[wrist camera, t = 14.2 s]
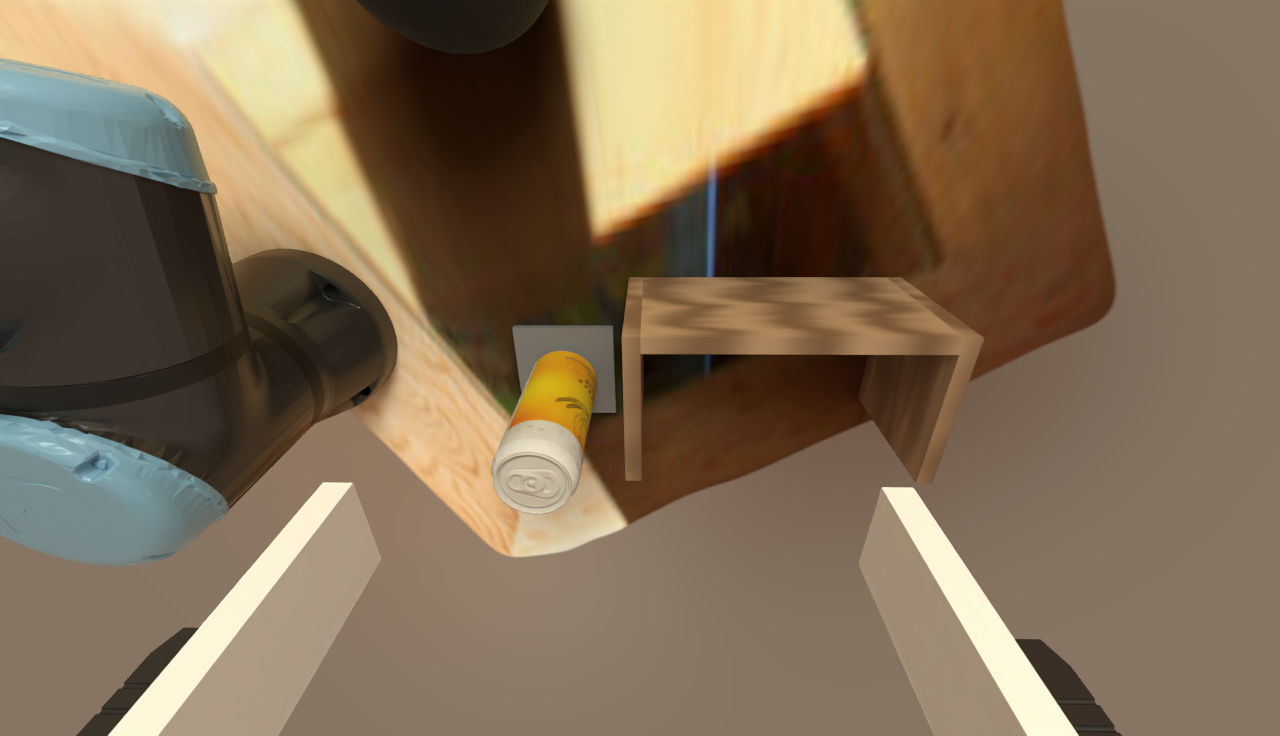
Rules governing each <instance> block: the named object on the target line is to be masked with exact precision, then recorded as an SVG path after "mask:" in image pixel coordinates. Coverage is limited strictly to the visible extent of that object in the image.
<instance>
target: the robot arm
mask: <svg viewBox="0 0 1280 736" xmlns="http://www.w3.org/2000/svg"><path fill="white" fill-rule="evenodd" d="M215 194H217V188H216V186H215V184H214V183H212V182H211V181H210V179H209V176H208V173H207V170H206V168H205V165H204V162H203V159H202V155H201V152H200V149H199V146H198V143H197V139H196V136H195V133H194V130H193V128H192V126H191V124H190V122H189V121H188V119H187V118H186V116H185V115H184V114H183V113H182V112H181V111H180V110H179V109H178V108H177V107H176V106H175V105H174V104H172V103H171V102H170V101H168V100H167V99H165V98H164V97H162V96H160V95H158V94H156V93H153V92H151V91H149V90H146V89H143V88H140V87H136V86H132V85H128V84H124V83H120V82H116V81H112V80H107V79H103V78H98V77H94V76H89V75H84V74H80V73H75V72H70V71H65V70H60V69H55V68H51V67H46V66H41V65H35V64H30V63H25V62H20V61H15V60H10V59H5V58H0V536H2V537H4V538H7V539H9V540H11V541H14V542H16V543H19V544H22V545H23V546H26V547H28V548H31V549H34V550H36V551H39V552H42V553H46V554H49V555H52V556H56V557H60V558H64V559H68V560H72V561H76V562H82V563H88V564H94V565H104V566H135V565H142V564H148V563H152V562H156V561H159V560H161V559H165V558H167V557H169V556H171V555H173V554H174V553H176V552H178V551H180V550H181V549H183V548H184V547H185V546H187V545H188V544H189V543H190V542H191V541H192V540H194V539H195V538H196V537H197V536H198V535H199V534H200V533H201V532H203V531H204V530H205V529H206V528H207V527H208V526H210V525H211V524H212V523H215V522H216V521H218V520H220V519H222V518H223V517H224V516H225V515H226V514H227V513H228V511H229V509H230V508H231V507H232V506H233V505H234V504H235V503H236V502H237V501H238V500H239V499H240V498H241V497H242V496H243V495H244V494H245V493H246V492H247V491H248V490H249V489H250V488H251V487H252V486H253V485H254V484H255V483H256V482H257V481H258V480H259V479H260V478H261V477H262V476H263V475H264V474H265V473H266V472H267V471H268V470H269V469H270V468H271V467H272V466H273V465H274V464H275V463H276V462H277V461H278V460H279V459H280V458H281V457H282V456H283V455H284V454H285V453H286V452H287V451H288V450H289V449H290V448H291V447H292V446H293V445H294V444H295V443H296V441H297V440H299V438H301V436H302V435H303V434H304V433H305V432H306V431H307V430H308V429H309V428H310V427H311V426H313V425H314V424H315V423H317V422H320V421H322V420H325V419H327V418H329V417H332V416H334V415H337V414H339V413H341V412H344V411H346V410H349V409H351V408H353V407H356V406H358V405H359V404H361V403H363V402H364V401H366V400H367V399H369V398H370V397H371V396H372V395H373V394H374V393H375V392H376V391H377V390H378V389H379V388H380V387H381V386H382V385H383V384H384V382H385V381H386V380H387V379H388V377H389V376H390V374H391V372H392V370H393V368H394V364H395V360H396V354H397V344H396V336H395V332H394V329H393V325H392V323H391V320H390V318H389V316H388V314H387V312H386V310H385V308H384V307H383V305H382V304H381V302H380V301H379V299H378V298H377V297H376V296H375V294H374V293H373V292H372V291H371V290H370V289H369V288H368V287H367V286H366V285H365V284H364V283H363V282H362V281H361V280H360V279H359V278H358V277H356V276H355V275H354V274H352V273H351V272H350V271H348V270H347V269H345V268H344V267H342V266H340V265H339V264H337V263H335V262H333V261H331V260H329V259H326V258H324V257H322V256H319V255H316V254H313V253H309V252H305V251H300V250H293V249H274V250H268V251H264V252H260V253H257V254H255V255H252V256H250V257H247V258H245V259H243V260H240V261H238V262H236V263H234V264H231V260H230V255H229V251H228V247H227V243H226V239H225V235H224V231H223V227H222V223H221V219H220V215H219V210H218V206H217V202H216V198H215ZM380 560H381V556H380V554H379V551H378V548H377V546H376V543H375V540H374V538H373V535H372V533H371V530H370V527H369V524H368V522H367V519H366V516H365V513H364V511H363V508H362V505H361V503H360V500H359V498H358V494H357V492H356V489H355V487H354V484H353V483H335V482H333V483H332V482H329V483H328V482H323V483H322V484H321V485H320V487H319V488H318V489H317V490H316V491H315V493H314V494H313V495H312V496H311V497H310V498H309V500H308V501H307V502H306V503H305V504H304V505H303V507H302V508H301V509H300V510H299V511H298V512H297V514H296V515H295V516H294V517H293V518H292V520H291V521H290V522H289V523H288V524H287V525H286V527H285V528H284V529H283V530H282V531H281V533H280V534H279V535H278V536H277V537H276V538H275V540H274V541H273V542H272V543H271V544H270V546H269V547H268V548H267V549H266V550H265V551H264V552H263V554H262V555H261V556H260V557H259V559H258V560H257V561H256V562H255V563H254V564H253V565H252V567H251V568H250V569H249V570H248V571H247V572H246V574H245V575H244V576H243V577H242V578H241V580H240V581H239V582H238V583H237V584H236V586H235V587H234V588H233V589H232V590H231V591H230V592H229V594H228V595H227V596H226V597H225V599H224V600H223V601H222V602H221V603H220V604H219V606H218V607H217V608H216V609H215V610H214V611H213V613H212V614H211V615H210V616H209V617H208V618H207V620H206V621H205V622H204V623H203V624H202V625H201V627H200V628H183V629H181V630H180V631H179V632H178V633H176V634H175V635H174V636H172V637H171V638H170V639H169V640H167V641H166V642H164V643H163V644H162V645H161V646H159V647H158V648H157V649H155V650H154V651H153V652H151V653H150V654H149V656H148V657H147V658H146V659H145V660H144V661H143V662H142V663H141V664H140V666H139V667H138V668H137V669H136V670H135V671H134V672H133V673H132V675H131V676H130V677H129V678H128V679H127V680H126V681H125V682H124V687H123V688H122V689H118V690H117V691H116V692H115V694H114V695H113V696H112V697H111V698H110V699H109V700H108V701H107V703H106V704H105V705H104V706H103V707H102V711H101V712H100V713H99V714H96V715H95V716H94V717H93V718H92V719H91V720H90V721H89V722H88V723H87V725H86V726H85V727H84V728H83V729H82V730H81V731H80V732H79V733H78V735H77V736H278V735H279V733H280V732H281V730H282V728H283V726H284V725H285V723H286V721H287V720H288V718H289V716H290V714H291V713H292V711H293V709H294V708H295V706H296V704H297V702H298V701H299V699H300V697H301V696H302V694H303V692H304V690H305V689H306V687H307V685H308V684H309V682H310V680H311V678H312V677H313V675H314V673H315V672H316V670H317V668H318V666H319V665H320V663H321V661H322V660H323V657H324V656H325V654H326V653H327V651H328V649H329V647H330V646H331V644H332V642H333V641H334V639H335V637H336V636H337V634H338V632H339V630H340V628H341V627H342V625H343V624H344V622H345V620H346V619H347V617H348V615H349V613H350V612H351V610H352V608H353V607H354V604H355V603H356V601H357V600H358V598H359V596H360V595H361V593H362V591H363V589H364V588H365V586H366V584H367V583H368V581H369V579H370V577H371V576H372V574H373V572H374V571H375V569H376V567H377V565H378V564H379V562H380ZM859 566H860V569H861V571H862V573H863V576H864V578H865V580H866V582H867V585H868V587H869V589H870V591H871V594H872V596H873V598H874V601H875V603H876V605H877V607H878V610H879V612H880V614H881V616H882V619H883V621H884V623H885V625H886V628H887V630H888V632H889V635H890V637H891V639H892V641H893V644H894V646H895V648H896V650H897V653H898V655H899V657H900V659H901V662H902V664H903V666H904V668H905V671H906V673H907V675H908V678H909V680H910V682H911V684H912V687H913V689H914V691H915V693H916V695H917V698H918V700H919V702H920V705H921V707H922V709H923V712H924V714H925V716H926V718H927V721H928V723H929V725H930V727H931V730H932V732H933V734H934V736H1122V735H1121V734H1120V733H1117V732H1116V731H1115V729H1114V724H1113V723H1112V722H1111V720H1110V719H1109V718H1108V717H1107V715H1106V714H1105V712H1104V711H1103V710H1102V708H1101V707H1100V706H1099V705H1096V703H1095V701H1094V700H1095V699H1094V697H1093V696H1092V695H1091V693H1090V692H1089V690H1088V689H1087V688H1086V686H1085V685H1084V684H1083V683H1082V681H1081V679H1080V678H1079V677H1078V675H1077V674H1076V673H1075V672H1074V670H1073V669H1072V668H1071V666H1070V665H1068V664H1067V663H1066V662H1065V661H1064V660H1063V659H1062V658H1060V656H1058V655H1057V654H1056V653H1055V652H1054V651H1053V650H1052V649H1050V648H1049V647H1048V646H1047V645H1046V644H1045V643H1044V642H1043V641H1041V640H1037V639H1036V640H1035V639H1014V638H1013V637H1012V635H1011V634H1010V632H1009V631H1008V629H1007V628H1006V626H1005V625H1004V623H1003V622H1002V620H1001V619H1000V617H999V616H998V614H997V613H996V611H995V610H994V608H993V607H992V605H991V604H990V602H989V601H988V599H987V598H986V596H985V595H984V593H983V592H982V590H981V589H980V587H979V586H978V584H977V583H976V581H975V580H974V578H973V577H972V575H971V574H970V572H969V571H968V569H967V568H966V566H965V565H964V563H963V562H962V560H961V559H960V557H959V556H958V554H957V553H956V552H955V550H954V548H953V547H952V545H951V544H950V542H949V541H948V539H947V538H946V536H945V535H944V533H943V532H942V530H941V529H940V527H939V526H938V524H937V523H936V521H935V520H934V518H933V517H932V515H931V514H930V512H929V511H928V509H927V508H926V506H925V505H924V503H923V502H922V500H921V499H920V497H919V496H918V494H917V493H916V491H915V490H914V488H892V487H891V488H890V487H887V488H886V487H882V488H881V492H880V495H879V498H878V502H877V505H876V508H875V511H874V515H873V518H872V522H871V525H870V528H869V532H868V535H867V539H866V542H865V545H864V548H863V552H862V555H861V558H860V562H859Z"/></svg>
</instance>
